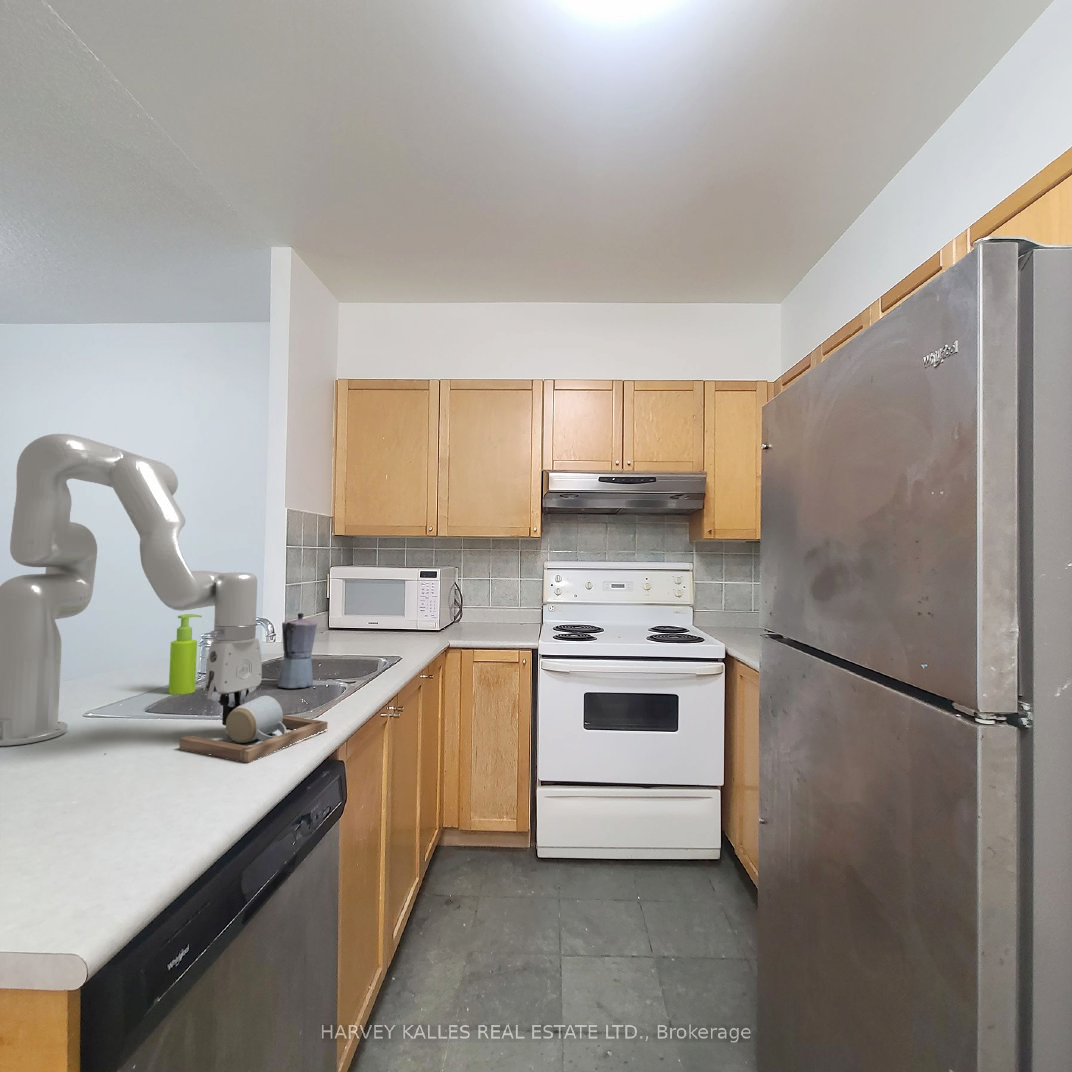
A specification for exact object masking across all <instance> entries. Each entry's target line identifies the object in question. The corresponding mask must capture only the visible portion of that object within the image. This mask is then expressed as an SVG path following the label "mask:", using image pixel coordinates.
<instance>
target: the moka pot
mask: <svg viewBox="0 0 1072 1072" xmlns="http://www.w3.org/2000/svg"><path fill="white" fill-rule="evenodd" d="M303 618H304V613H302V612H300V613H297V619H293V620H289V621H284V622H282V624H281V626H282V627H281V628H282V645H283V646H282V647H283V660H282V663H281V669H280V671H279V673H280V674H279V678H278V682H277V686H278V687H279V688H281V689H282V688H284V689H299V688H300V689H302V688H308V687H311V686H313V685H314V678H313V666H312V665H313V664H312V661H313V660H312V658H311V657H312V652H313V648H314V642H315V637H316V632H317V625H318V623H317V622H314V621H311V620H306V619H303Z"/></svg>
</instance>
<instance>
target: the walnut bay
mask: <svg viewBox="0 0 1072 1072" xmlns="http://www.w3.org/2000/svg"><path fill="white" fill-rule="evenodd" d="M282 724H284V726H285V727H286V728H289V729H288V730H291V731H287V733H285V734H282V733H281V734H280V735H277V737H274V738H271V739H269V740H266V741H260V742H259V743H258V742H257V743H256V744H253V745H250V746H249V745H244V744H243V745H242V744H237V743H231V742H226V741H222V740H217V739H216V740H215V739H211V738H205V737H199V736H194V735H186V736H184V737H180V738H179V750H180V749H181V751H185V750H187V752H190V751H193V752H192V753H195V752H197V754H200V753H203V754H202V755H205V754H211V755H212V756H211V757H215V756H219V757H218V758H220V757H224V758H223V759H225V758H228V759H227V760H230V759H233V760H232V761H235V760H238V761H237V762H240V761H243V762H242V763H245V762H250V763H252V762H254V761H253V760H255V759H257V760H259V759H258V758H260V757H262V758H264V757H263V756H265V757H267V756H268V755H267V754H270V753H272V754H274V753H273V752H274V751H277V750H280V749H282V748H283V747H286V746H289V745H290V744H293V743H295V742H297V741H299V740H302V739H304V738H307V737H309V736H311V735H314V734H317V733H318V732H321V731H324V730H325V729H327V730H328V721H326V720H325V721H324V720H318V719H313V718H312V719H311V718H305V717H299V716H293V715H287V714H283V720H282ZM292 729H296V730H292ZM282 750H283V749H282ZM280 751H281V750H280ZM277 752H278V751H277ZM266 755H267V756H266ZM270 755H271V754H270ZM260 759H261V758H260ZM251 761H252V762H251ZM255 761H256V760H255Z"/></svg>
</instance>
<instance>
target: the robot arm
mask: <svg viewBox="0 0 1072 1072" xmlns="http://www.w3.org/2000/svg"><path fill="white" fill-rule="evenodd" d="M15 478H16V489H15V490H16V495H15V502H14V508H13V515H12V517H13V519H12V524H11V534H10V540H9V541H10V542H9V543H10V544H9V552H10V555H11V558H12V559H13V560H14V562H16V564H19V565H22V566H25V567H29V568H45V571H44V572H45V573H32V574H30V573H29V574H24V575H22V574H21V575H18V576H15V577H12V578H9V579H8V580H6V581H4V582H3V583H1V585H0V747H7V746H18V745H19V746H20V745H25V744H32V743H36V742H42V741H46V740H50V739H53V738H56V737H59V736H61V735H63V734H65V733H67V731H68V730H69V729H68V728H69V727H68V723H66V722H63V721H59V709H60V708H59V707H60V688H61V686H60V685H61V669H62V668H61V667H62V665H61V664H62V662H61V661H62V637H61V633H60V630H59V628H58V625H57V622H56V620H60V619H61V620H62V619H67V618H71V617H75V616H77V615H79V614H82V613H83V612H84V610H86V609H87V607H88V606H89V604H90V602H91V600H92V597H93V593H94V592H93V591H94V586H95V585H94V583H95V577H96V576H95V575H96V567H97V558H98V544H97V539H96V537H95V535H94V534H93V533H92V530H90V529H89V528H88V527H87V526H85V525H84V524H81V523H78V522H75V521H74V522H72V521H71V512H72V511H71V510H72V505H73V504H72V495H71V491H70V488H69V486H68V483H67V481H68V480H73V479H74V480H78V481H82V482H89V483H93V484H99V485H102V486H106V487H110V488H112V489H113V491H114V492H115V494H116V496H117V498H118V499H119V501H120V503H121V505H122V506H123V509H124V511H125V512H126V514H127V515H128V517H129V519H130V521H131V523H132V525H133V527H134V528H135V530H136V532H137V534H138V536H139V555H140V563H141V567H142V570H143V573H144V575H145V576H146V579H147V581H148V582H149V583H150V586H151V588H152V589H153V591H154V592H155V594H156V596H157V597H158V598H159V600H160V602H161V603H163V604H164V605H165V606H166V607H167V608H170V609H172V610H174V611H179V612H180V611H181V612H184V611H190V610H196V609H202V608H206V607H214V625H213V630H211V631H210V633H209V635H210V637H211V638H213V641H212V642H211V643H210V646H209V649H208V650H209V651H208V656H207V661H206V669H205V682H204V683H205V684H204V685H205V690H206V691H207V697H206V699H207V701H213V702H215V701H216V702H218V703H219V705H220V706H222V720H221V721H222V722H221V724H222V725H223V726H225V727H226V720H227V717H228V715H229V714H230V712H231V711H233V710H234V709H235V708H237V707H238V706H240V705H243V704H245V701H246V698H247V696H248V695H249V694H250V693H252V692H253V691H255V690H257V687H258V686H259V685H260V684H261V683H262V669H263V668H262V667H263V665H262V651H261V646H260V645H261V644H260V641H259V638H257V637H256V629H257V627H256V626H257V625H256V624H257V602H258V601H257V599H258V578H257V576H256V575H255V574H254V573H251V572H217V571H212V570H211V571H210V570H192V571H191V569H190V567H189V565H188V563H187V561H186V560H185V559H184V557H183V554H182V552H181V549H180V546H179V535H180V532H181V531H182V529H183V527H184V526H185V524H186V518H185V516H184V514H183V512H182V510H181V509H180V507H179V505H178V504H177V502H176V500H175V498H174V497H173V496H174V495H175V493H176V492H177V489H178V486H179V481H178V477H177V474H176V473H175V471H174V470H173V469H172V468H171V467H170V466H169V465H167V464H166V463H164V462H162V461H158V460H154V459H151V458H148V457H145V456H141V455H138V454H135V453H133V452H129V451H127V450H124V449H122V448H121V449H120V448H119V447H117V446H116V447H115V446H112V445H110V444H107V443H103V442H98V441H95V440H94V439H93V440H92V439H89V438H86V437H82V436H79V435H76V434H75V435H74V434H67V433H66V434H65V433H52V434H46V435H42V436H41V437H38V438H36V439H34V440H32V441H31V442H30V443H28V445H27V446H25V447H24V449H22V451H21V453H20V455H19V457H18V460H17V464H16V477H15Z"/></svg>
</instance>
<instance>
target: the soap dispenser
mask: <svg viewBox="0 0 1072 1072" xmlns="http://www.w3.org/2000/svg"><path fill="white" fill-rule="evenodd" d="M202 617H203V615H200V614H192V613H191V614H190V613H189V614H181V615H177V619H180V626H178V627H176V640H173V641H170V652H169V674H168V675H169V676H168V677H169V678H168V679H169V680H168V695H173V696H174V695H175V696H179V695H189V694H192V693H195V692H196V678H197V677H196V676H197V652H198V651H197V649H198V640H196V639H193V638H192V636H193V627H191V626H189V622H190V621H189V620H190V618H202Z"/></svg>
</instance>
